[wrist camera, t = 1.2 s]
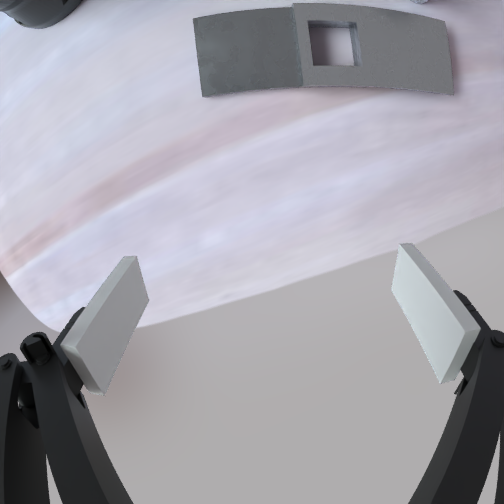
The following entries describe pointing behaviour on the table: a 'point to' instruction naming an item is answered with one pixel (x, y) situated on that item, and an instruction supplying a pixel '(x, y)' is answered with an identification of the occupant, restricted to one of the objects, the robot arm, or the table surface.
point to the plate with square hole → (300, 55)
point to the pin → (419, 1)
